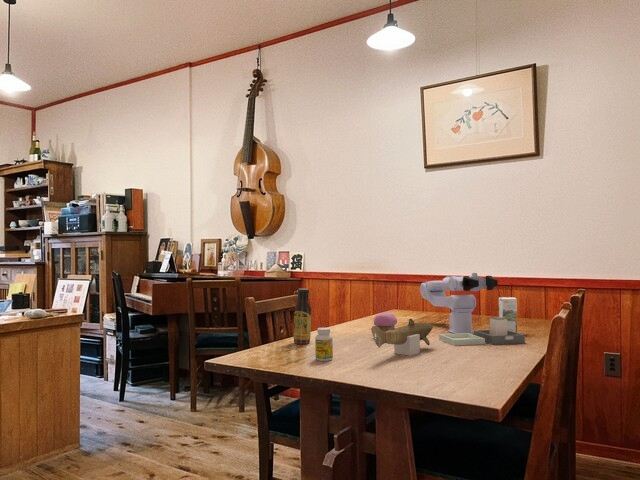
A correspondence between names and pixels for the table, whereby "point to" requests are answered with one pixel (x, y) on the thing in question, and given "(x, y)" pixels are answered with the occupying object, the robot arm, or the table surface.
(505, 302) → the syrup box
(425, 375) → the table surface
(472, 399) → the table surface
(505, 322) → the module block
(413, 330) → the wood carving
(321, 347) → the supplement bottle
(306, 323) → the sauce bottle
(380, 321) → the cupcake
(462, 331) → the robot arm
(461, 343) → the tray
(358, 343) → the table surface
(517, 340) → the gray rectangular frame
